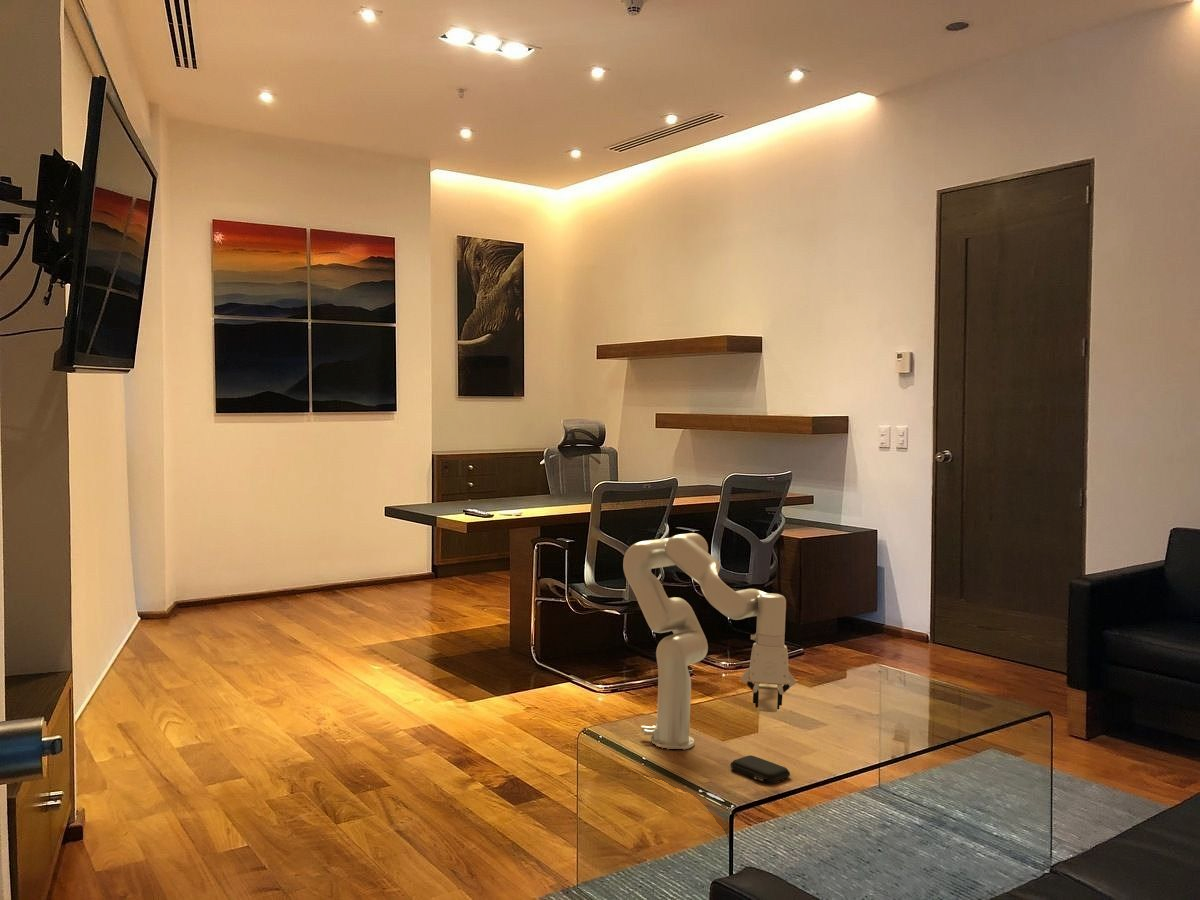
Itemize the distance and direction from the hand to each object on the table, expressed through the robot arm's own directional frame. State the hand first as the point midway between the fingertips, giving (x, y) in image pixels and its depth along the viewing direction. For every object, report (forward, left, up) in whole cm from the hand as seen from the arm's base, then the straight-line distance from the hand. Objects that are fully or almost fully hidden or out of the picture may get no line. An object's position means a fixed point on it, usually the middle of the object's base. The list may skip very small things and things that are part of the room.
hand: (767, 706), depth 254 cm
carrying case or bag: (-2, -4, -18) cm, 18 cm away
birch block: (0, 0, -1) cm, 1 cm away
